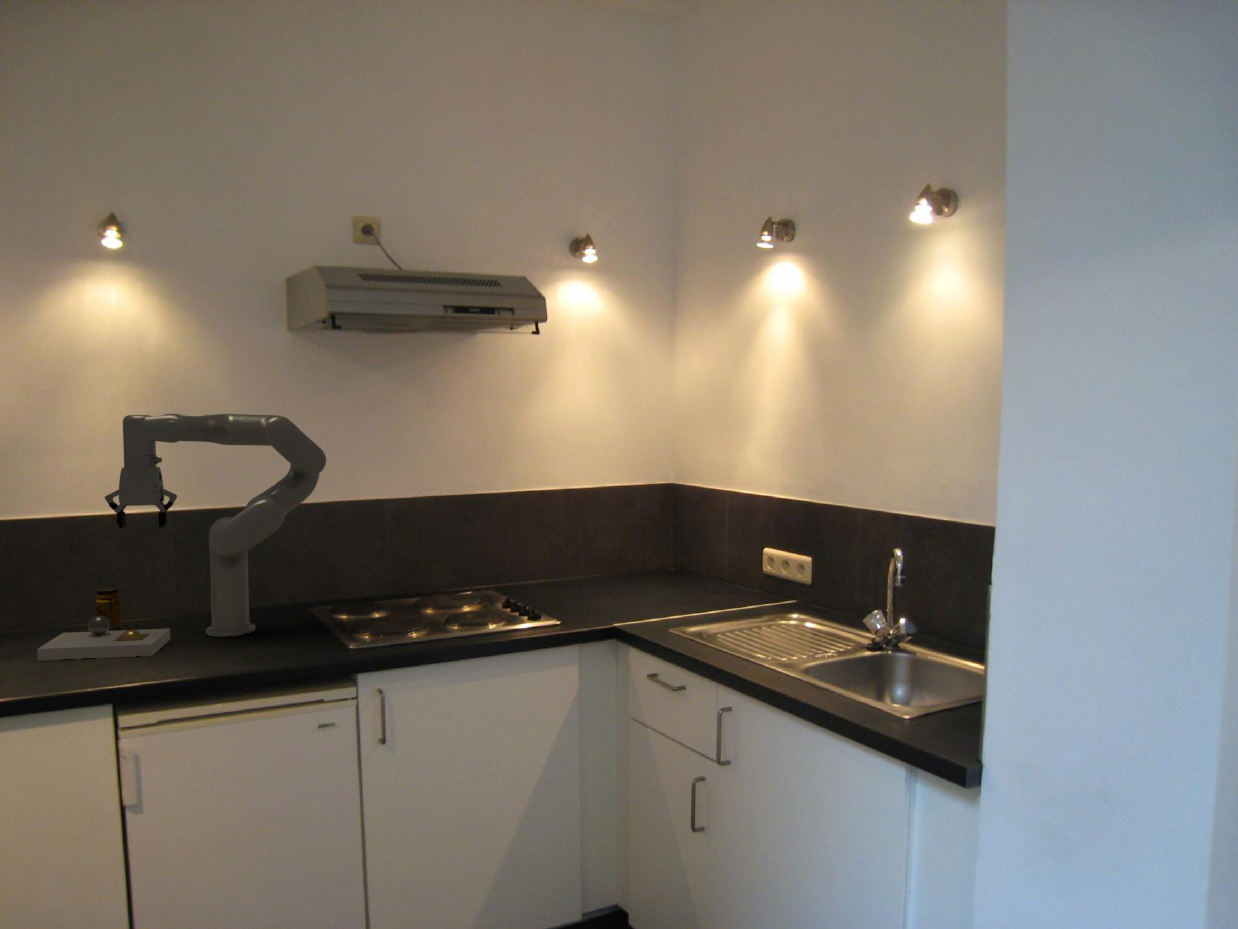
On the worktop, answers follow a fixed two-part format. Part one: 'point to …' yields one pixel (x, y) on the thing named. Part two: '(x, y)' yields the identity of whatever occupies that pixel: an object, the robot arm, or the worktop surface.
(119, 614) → the condiment
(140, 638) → the brass ball
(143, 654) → the hole plate
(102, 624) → the steel ball
